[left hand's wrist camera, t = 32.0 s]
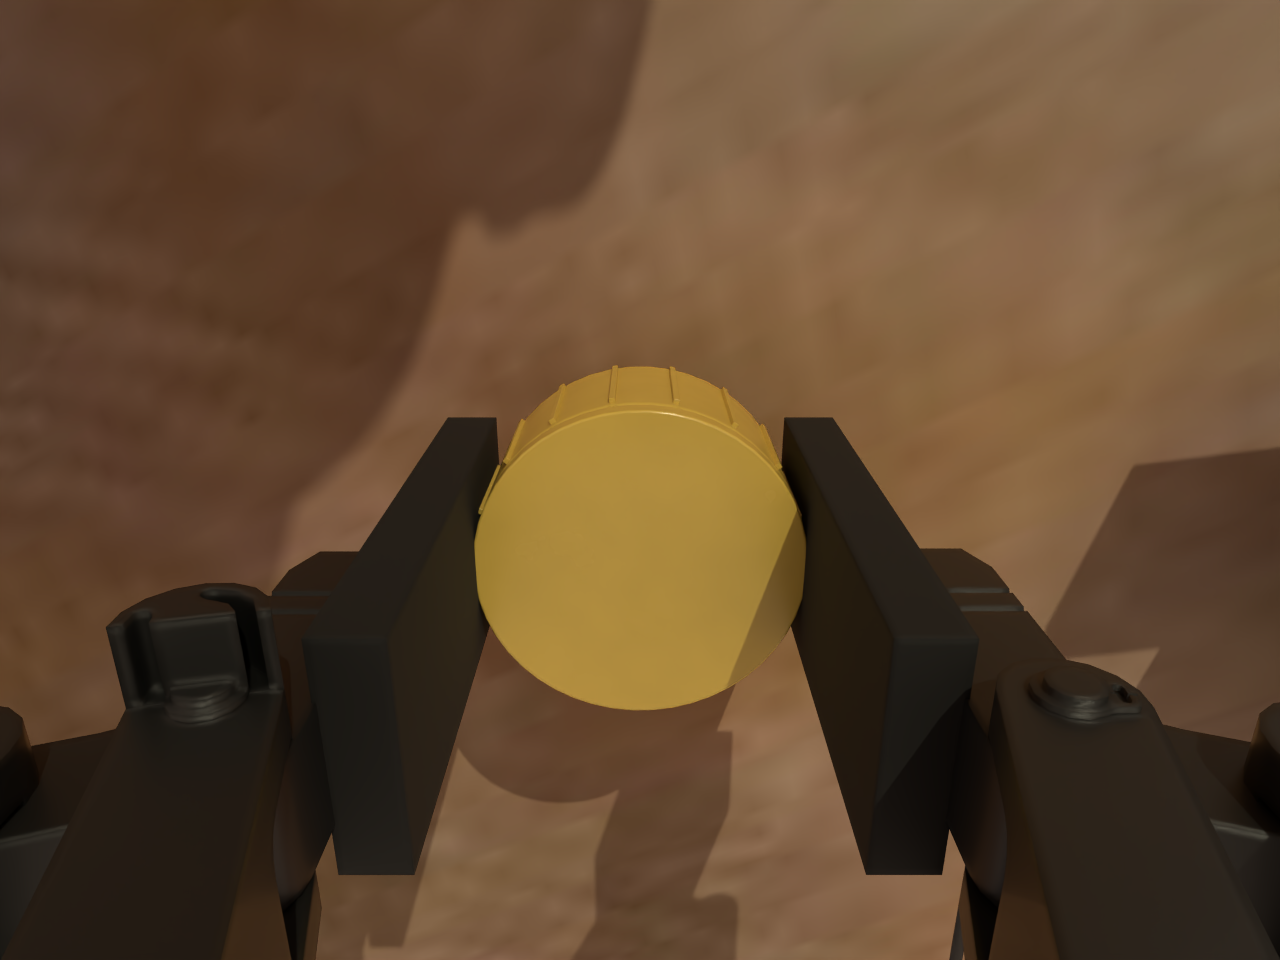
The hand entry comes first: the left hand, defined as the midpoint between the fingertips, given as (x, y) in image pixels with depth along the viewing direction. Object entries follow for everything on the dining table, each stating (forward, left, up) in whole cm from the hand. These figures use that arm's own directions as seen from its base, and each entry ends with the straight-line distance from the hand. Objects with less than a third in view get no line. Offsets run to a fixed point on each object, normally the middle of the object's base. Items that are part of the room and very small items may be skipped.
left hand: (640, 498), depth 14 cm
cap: (0, 0, +2) cm, 2 cm away
